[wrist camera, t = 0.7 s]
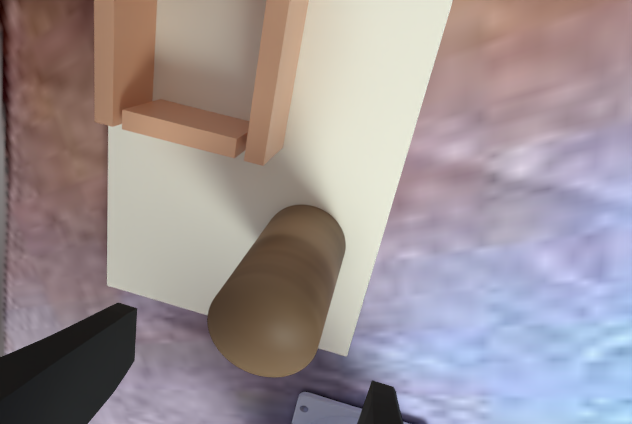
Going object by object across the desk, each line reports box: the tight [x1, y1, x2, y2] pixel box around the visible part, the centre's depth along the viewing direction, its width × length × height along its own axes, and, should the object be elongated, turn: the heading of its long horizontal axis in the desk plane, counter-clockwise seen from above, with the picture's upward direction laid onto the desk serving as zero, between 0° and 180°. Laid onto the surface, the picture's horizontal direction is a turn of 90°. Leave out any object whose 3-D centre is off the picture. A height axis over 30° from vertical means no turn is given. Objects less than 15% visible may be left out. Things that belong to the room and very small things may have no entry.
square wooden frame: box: [94, 0, 309, 166], centre depth 18 cm, size 7×7×3 cm
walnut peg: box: [207, 204, 346, 377], centre depth 18 cm, size 4×4×7 cm
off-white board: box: [107, 0, 453, 357], centre depth 21 cm, size 20×14×1 cm
